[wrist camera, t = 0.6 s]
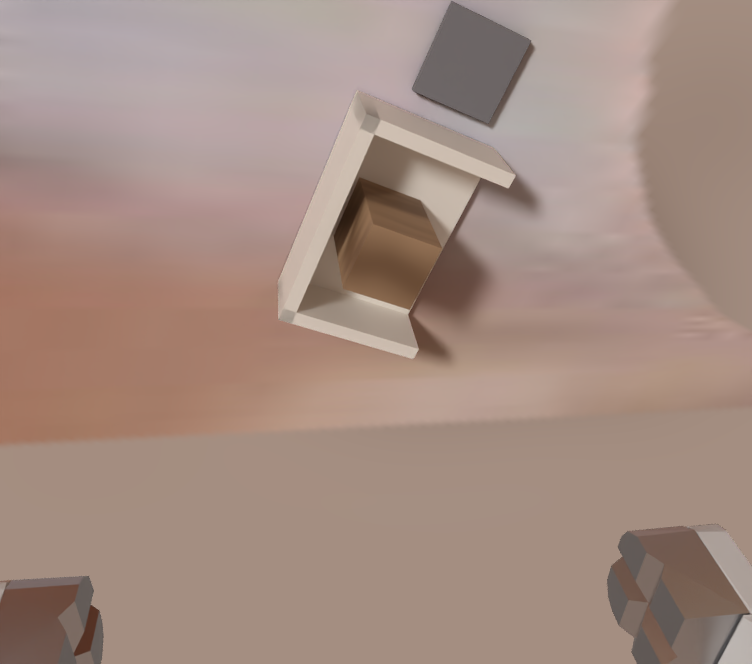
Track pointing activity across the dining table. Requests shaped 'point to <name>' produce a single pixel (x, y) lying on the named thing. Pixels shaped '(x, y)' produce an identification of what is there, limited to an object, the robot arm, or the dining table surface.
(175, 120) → the dining table surface
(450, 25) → the coaster
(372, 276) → the block
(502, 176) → the box
